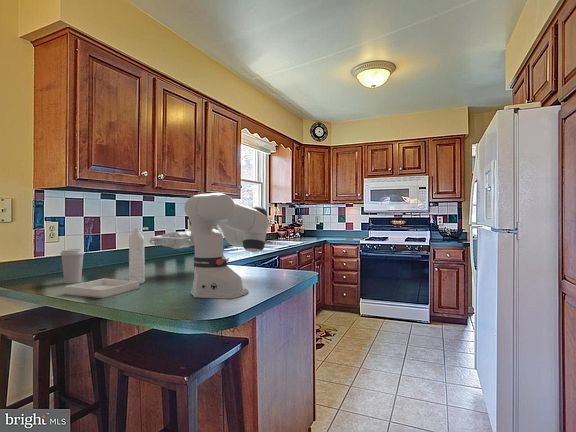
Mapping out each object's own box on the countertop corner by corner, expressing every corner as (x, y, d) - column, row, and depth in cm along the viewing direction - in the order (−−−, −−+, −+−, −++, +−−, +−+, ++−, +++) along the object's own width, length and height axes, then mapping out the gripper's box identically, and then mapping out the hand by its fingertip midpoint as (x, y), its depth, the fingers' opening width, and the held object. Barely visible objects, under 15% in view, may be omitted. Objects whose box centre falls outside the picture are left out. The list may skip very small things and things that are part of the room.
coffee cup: (69, 285, 154) (68, 251, 154) (55, 283, 158) (55, 250, 158) (89, 281, 163) (89, 249, 163) (76, 279, 167) (75, 248, 167)
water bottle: (133, 285, 153) (133, 228, 153) (126, 283, 157) (126, 227, 157) (152, 281, 160) (151, 227, 160) (144, 280, 164) (144, 227, 164)
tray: (139, 288, 145) (139, 281, 145) (102, 298, 129) (101, 290, 129) (104, 285, 153) (104, 278, 153) (64, 294, 136) (64, 286, 136)
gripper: (193, 246, 179) (175, 249, 166) (162, 245, 187) (142, 247, 174) (193, 234, 179) (175, 236, 166) (162, 233, 187) (142, 235, 174)
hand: (158, 242), depth 170 cm, fingers open, 8 cm apart
